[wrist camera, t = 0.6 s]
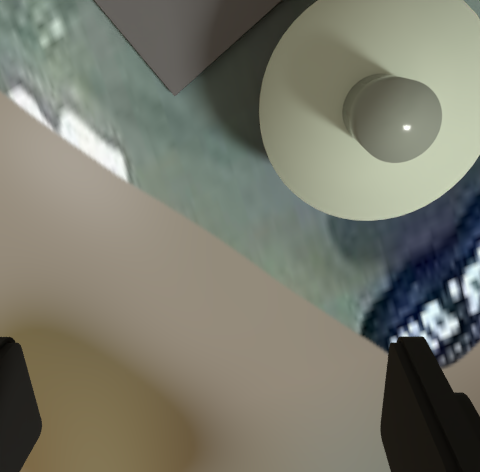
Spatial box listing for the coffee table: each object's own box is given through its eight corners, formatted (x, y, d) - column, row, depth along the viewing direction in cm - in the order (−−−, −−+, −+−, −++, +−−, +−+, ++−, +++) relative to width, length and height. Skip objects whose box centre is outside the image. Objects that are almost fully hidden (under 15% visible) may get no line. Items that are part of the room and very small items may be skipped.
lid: (412, -85, 26) (455, -120, 20) (534, 125, 30) (596, 142, 24) (212, 91, 30) (202, 101, 24) (343, 254, 34) (360, 294, 29)
